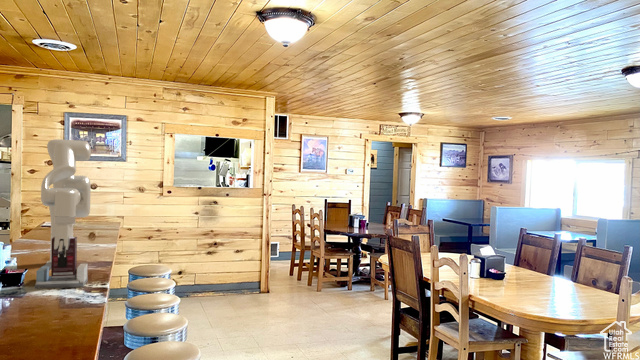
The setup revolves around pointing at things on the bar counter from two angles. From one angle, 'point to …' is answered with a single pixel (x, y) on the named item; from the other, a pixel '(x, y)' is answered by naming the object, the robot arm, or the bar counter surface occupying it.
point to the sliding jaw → (43, 273)
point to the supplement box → (71, 261)
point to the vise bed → (66, 280)
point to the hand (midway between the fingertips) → (63, 265)
